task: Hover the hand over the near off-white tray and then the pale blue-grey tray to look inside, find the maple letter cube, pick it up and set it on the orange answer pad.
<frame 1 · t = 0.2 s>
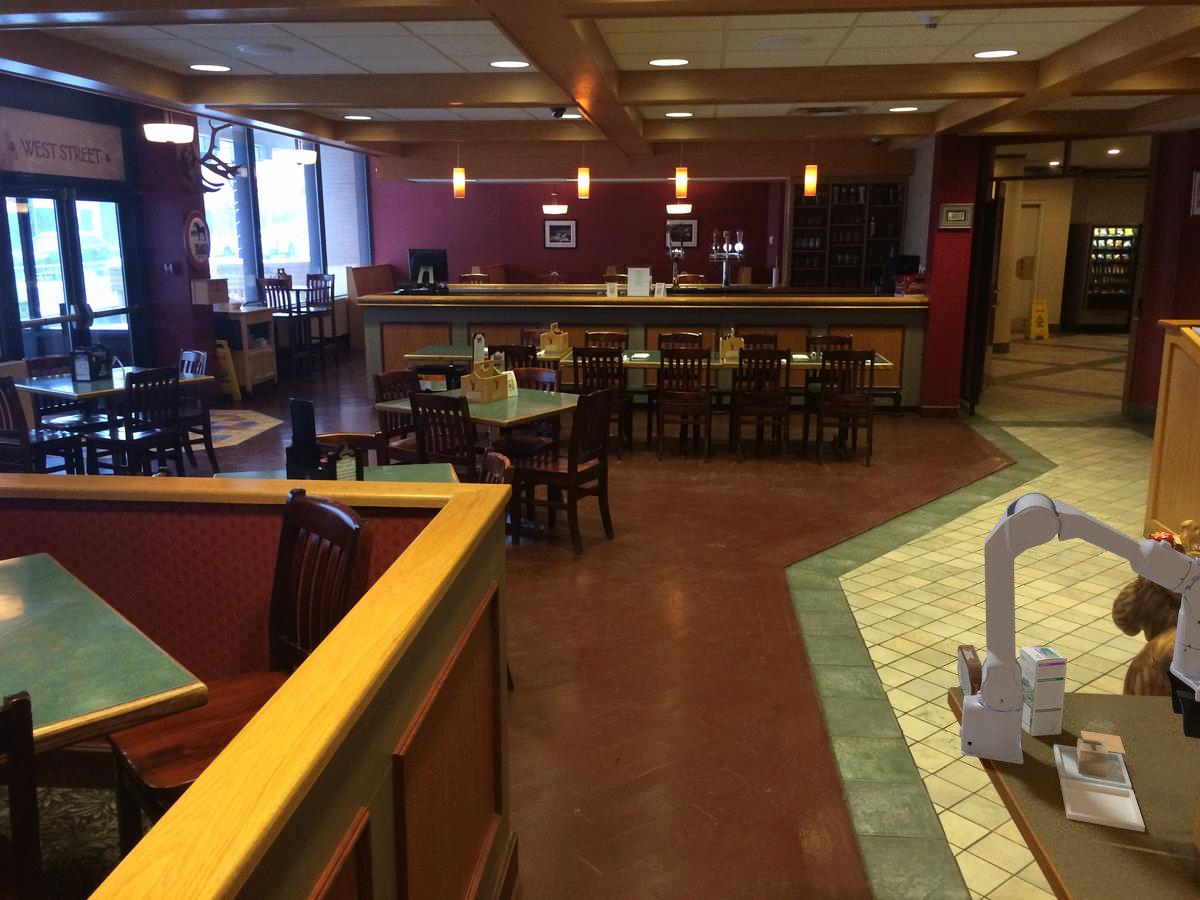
hand: (1186, 724, 146), 10 cm above the table, tool pointing down, fingers open, 7 cm apart
tin: (968, 695, 178), on the table
near tray: (1100, 808, 141), on the table
letter cube: (1090, 768, 151), resting on far tray
answer pad: (1102, 743, 159), on the table
syrup box: (1036, 730, 165), on the table
far tray: (1090, 771, 151), on the table
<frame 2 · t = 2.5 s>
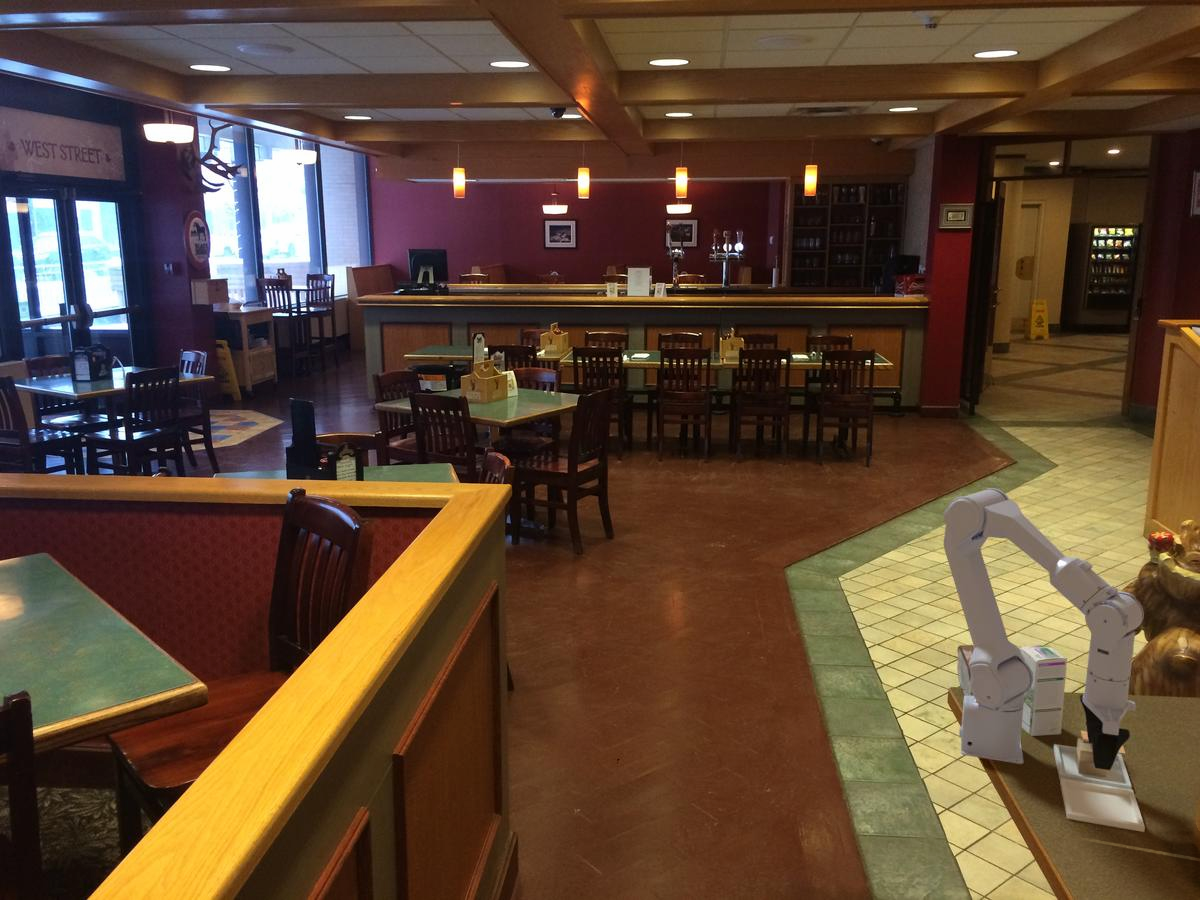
hand: (1099, 755, 144), 6 cm above the table, tool pointing down, fingers open, 7 cm apart
nothing on the table moved.
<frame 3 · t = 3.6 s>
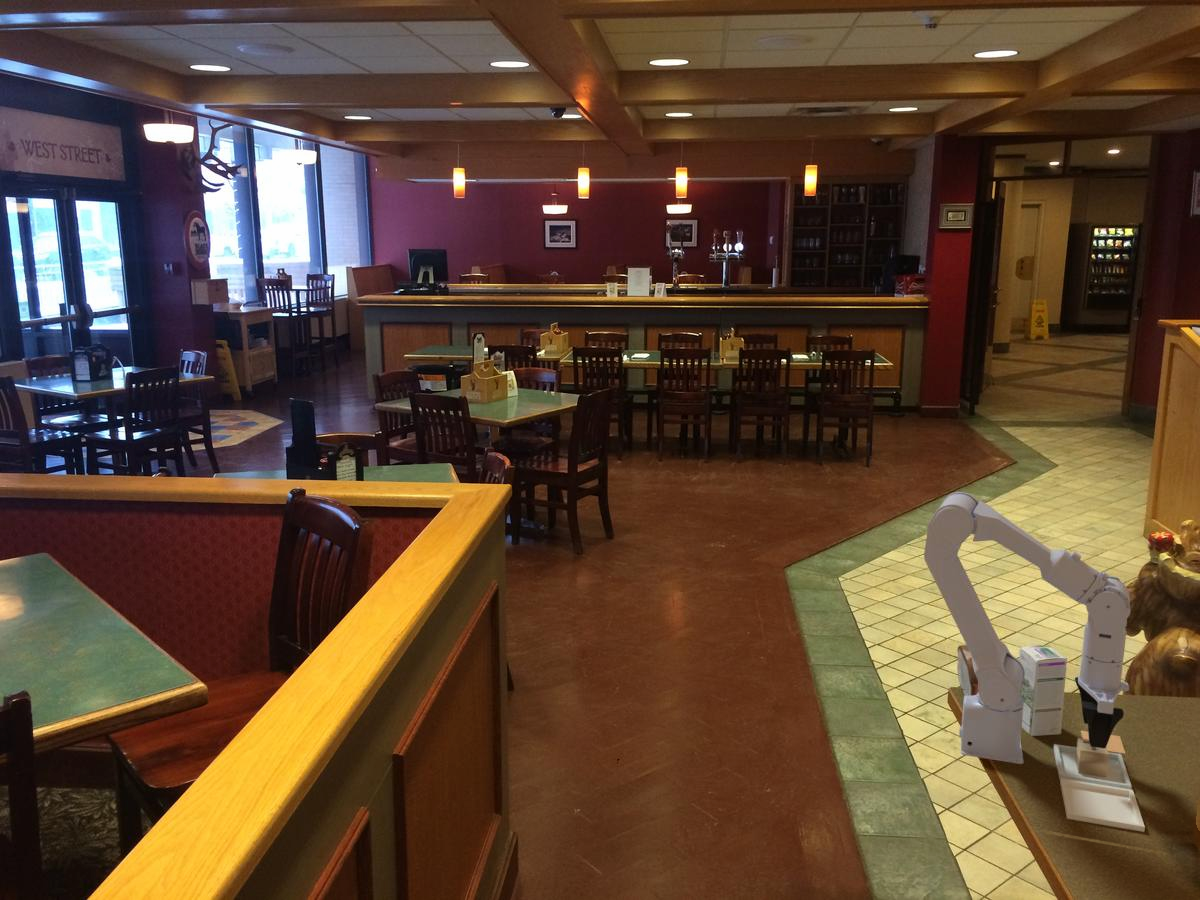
hand: (1094, 734, 150), 6 cm above the table, tool pointing down, fingers open, 7 cm apart
nothing on the table moved.
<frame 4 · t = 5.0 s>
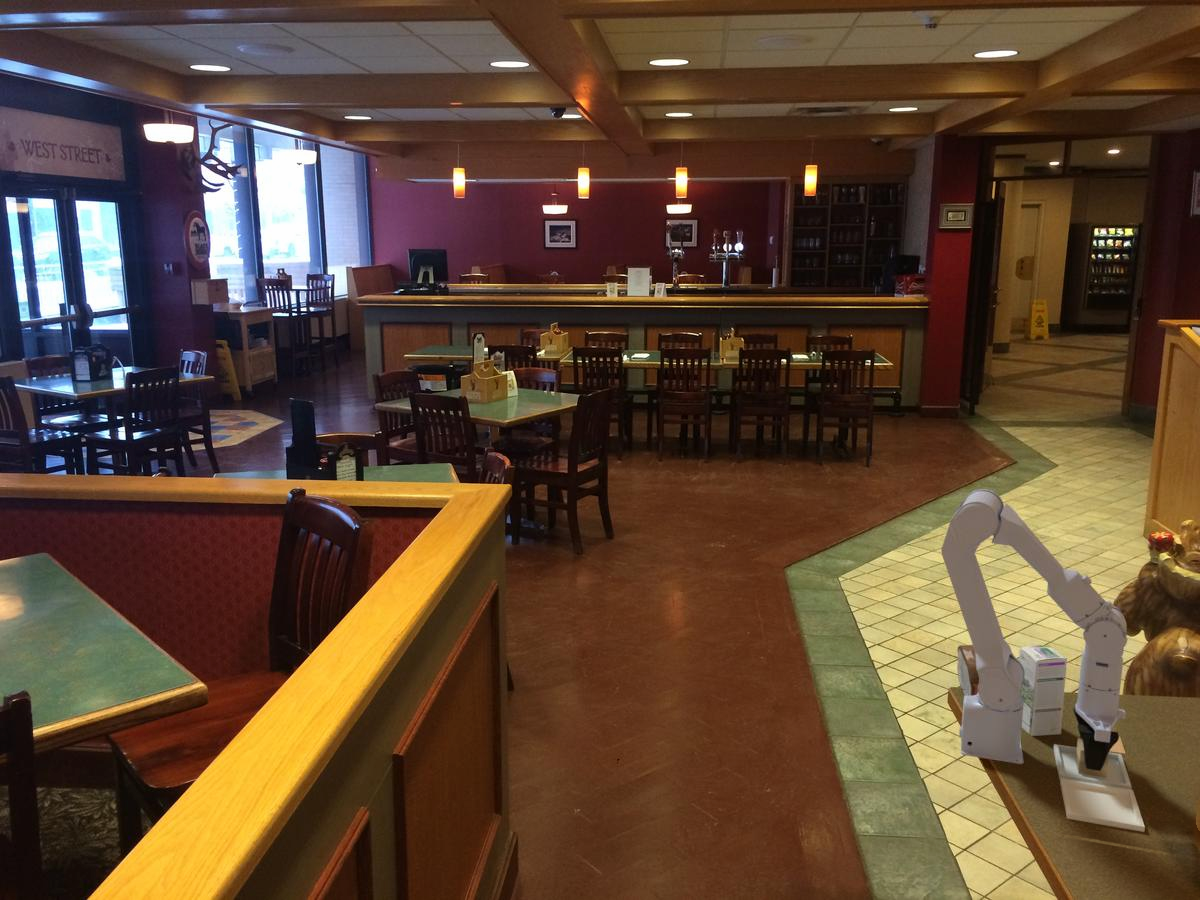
hand: (1091, 761, 151), 2 cm above the table, tool pointing down, fingers closed on letter cube, 4 cm apart
letter cube: (1090, 768, 151), resting on far tray, touching gripper
everything else where it was.
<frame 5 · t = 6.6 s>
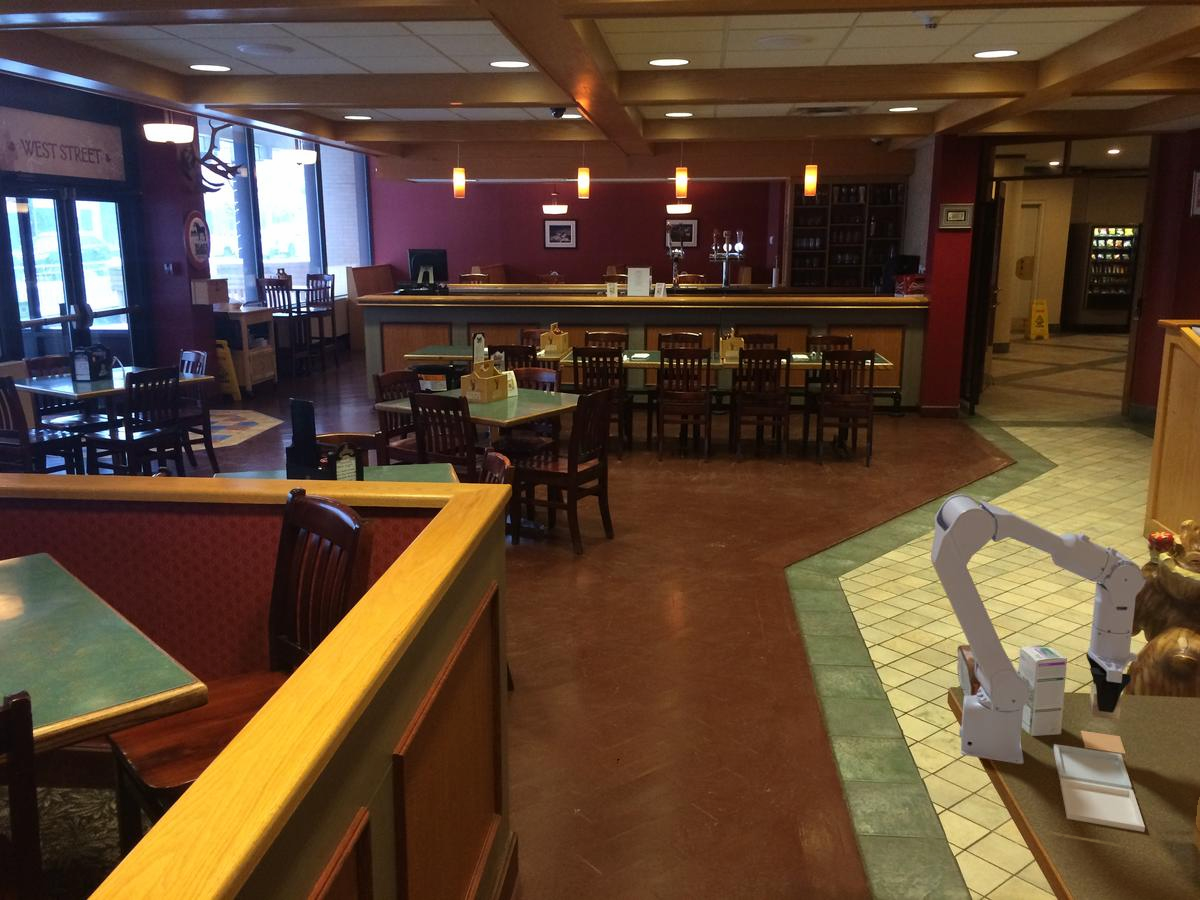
hand: (1104, 704, 154), 9 cm above the table, tool pointing down, fingers closed on letter cube, 4 cm apart
letter cube: (1104, 712, 155), point 8 cm above the table, touching gripper
everything else where it was.
when the fingers open (3 cm above the table, at t = 8.4 s): letter cube drops 1 cm, resting on answer pad.
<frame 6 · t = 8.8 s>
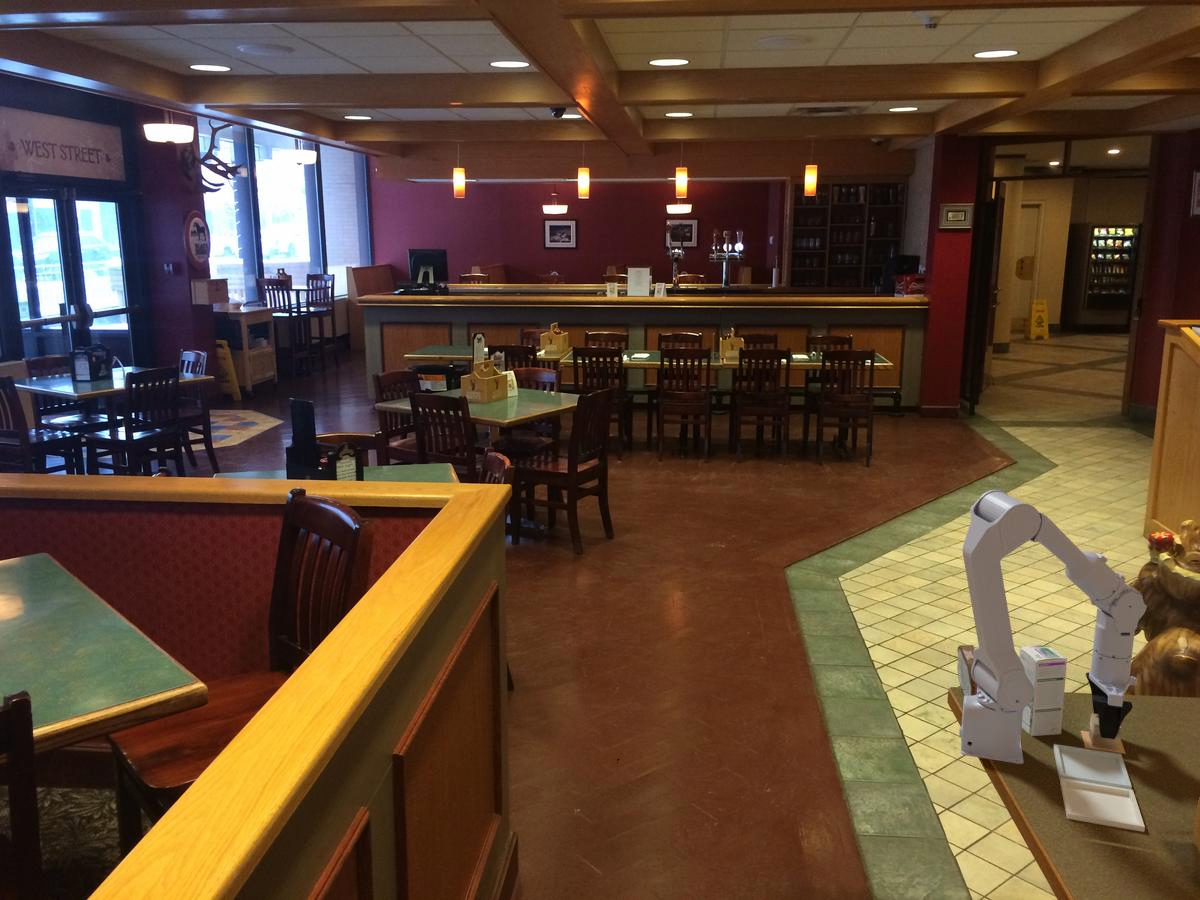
hand: (1104, 726, 159), 3 cm above the table, tool pointing down, fingers open, 7 cm apart
letter cube: (1103, 742, 159), resting on answer pad
everything else where it was.
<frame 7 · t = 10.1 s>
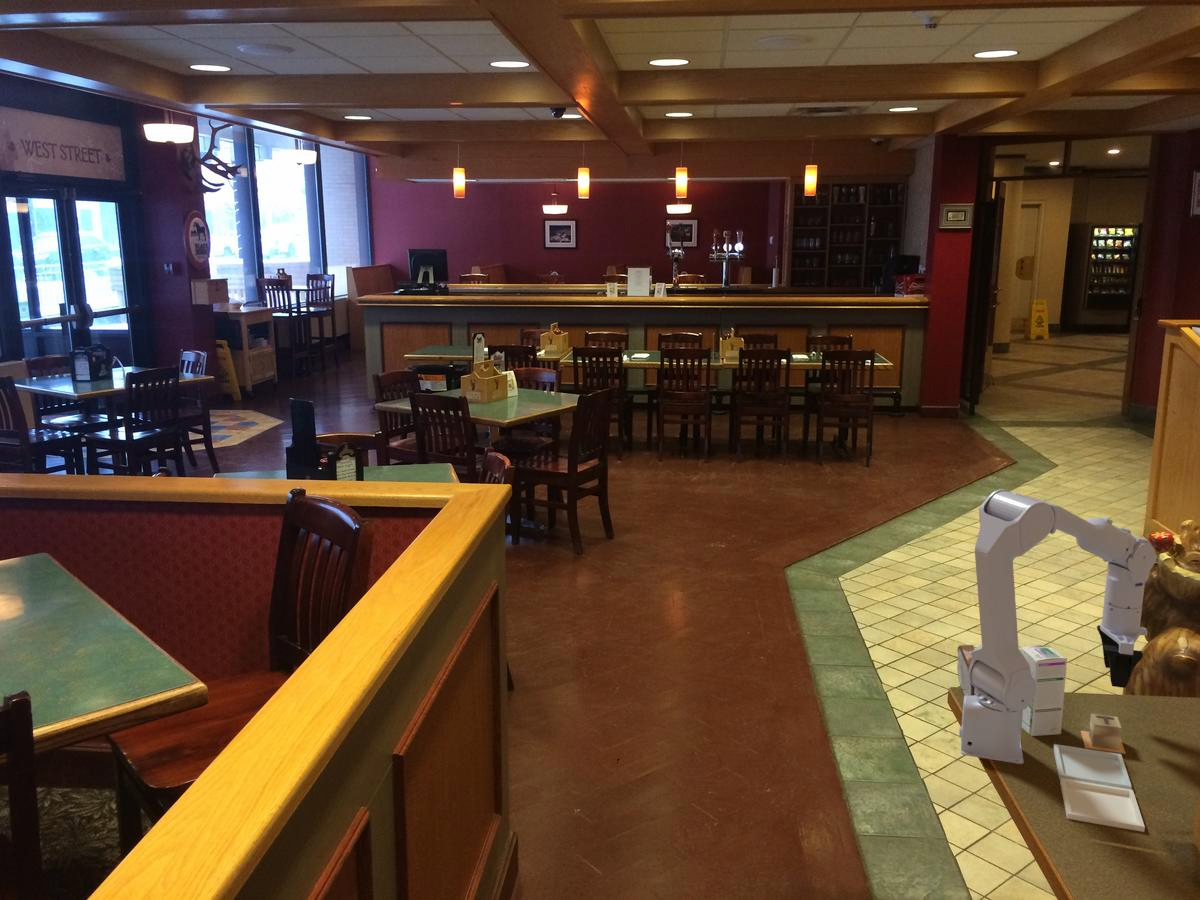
hand: (1115, 676, 163), 9 cm above the table, tool pointing down, fingers open, 7 cm apart
nothing on the table moved.
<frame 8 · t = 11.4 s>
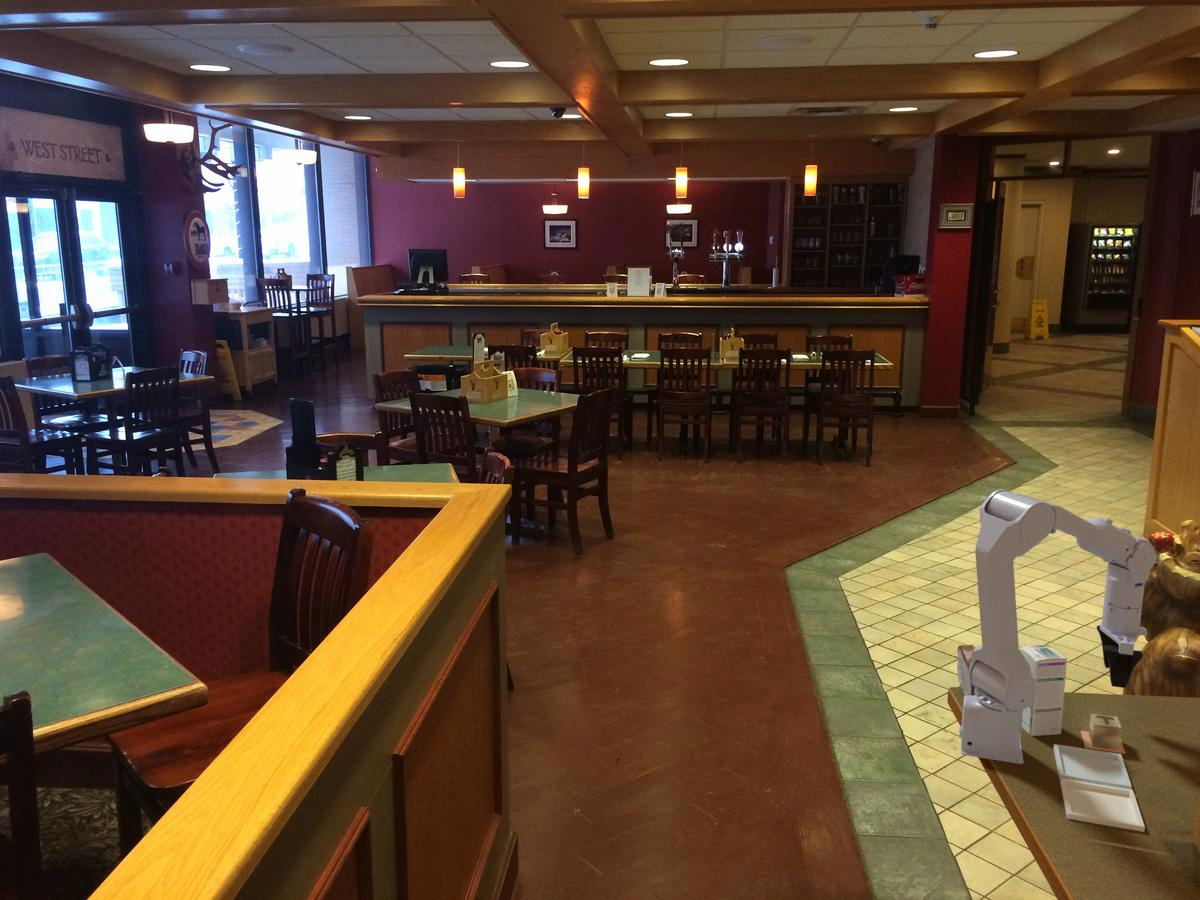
hand: (1114, 676, 163), 9 cm above the table, tool pointing down, fingers open, 7 cm apart
nothing on the table moved.
at the end: letter cube 0.1 cm off-centre on the answer pad, point 0.4 cm above the answer pad's base; letter cube tilted 0°; the gripper is holding nothing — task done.
